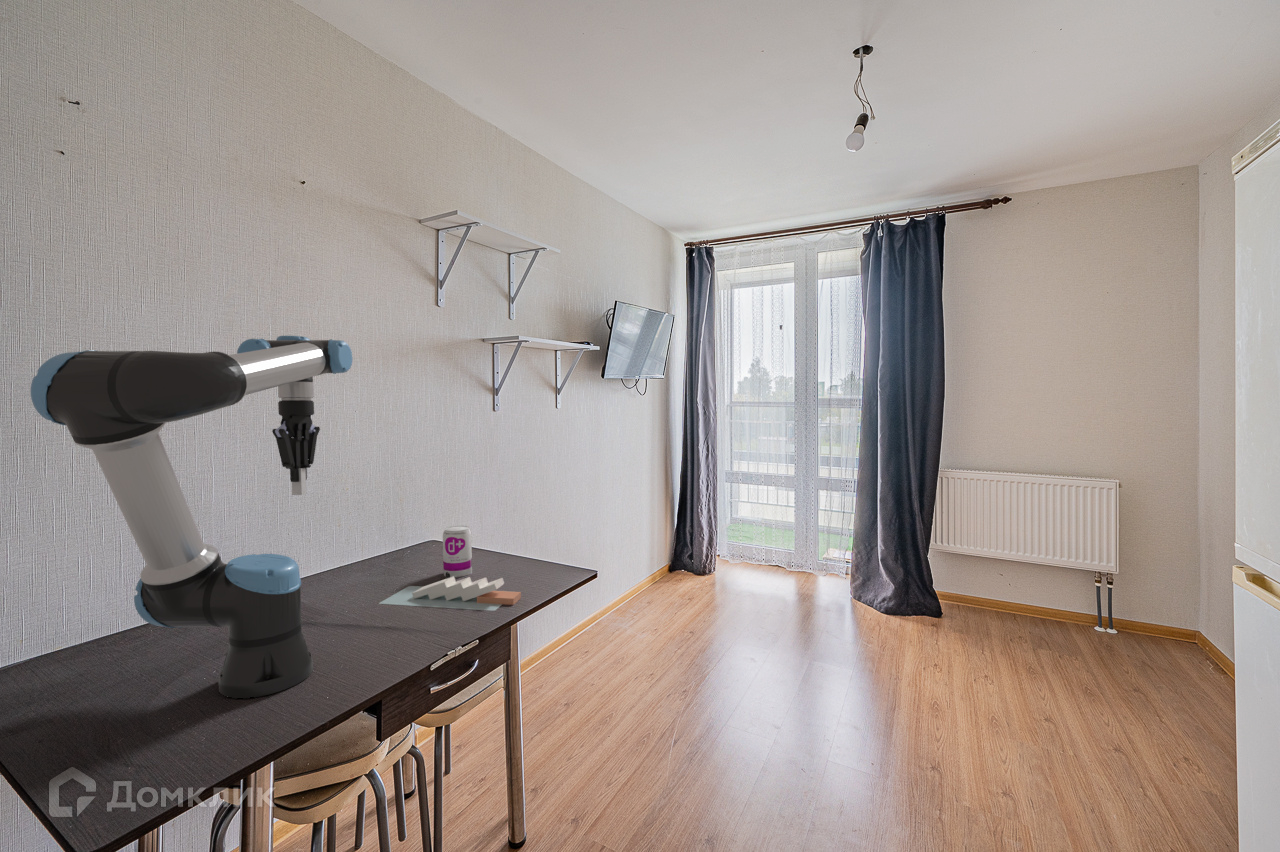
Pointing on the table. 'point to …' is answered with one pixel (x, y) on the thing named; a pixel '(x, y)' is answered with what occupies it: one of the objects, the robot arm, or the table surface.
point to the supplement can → (457, 551)
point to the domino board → (436, 601)
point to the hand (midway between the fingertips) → (299, 494)
